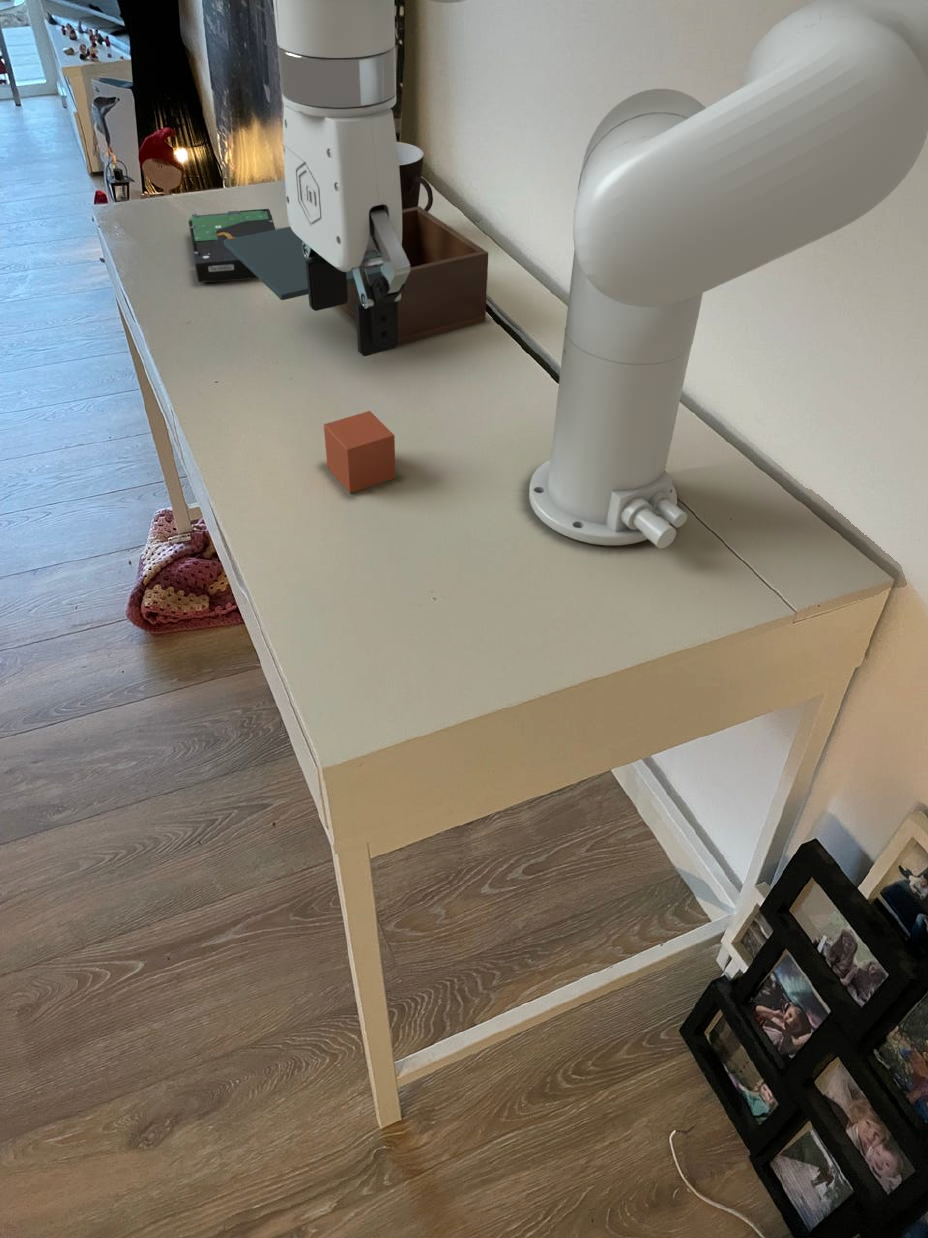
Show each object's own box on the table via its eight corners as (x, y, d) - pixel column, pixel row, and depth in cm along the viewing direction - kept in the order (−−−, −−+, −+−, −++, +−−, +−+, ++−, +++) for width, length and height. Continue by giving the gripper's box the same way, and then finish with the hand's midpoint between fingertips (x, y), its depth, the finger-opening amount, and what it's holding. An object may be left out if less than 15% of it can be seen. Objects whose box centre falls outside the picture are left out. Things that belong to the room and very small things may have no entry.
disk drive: (287, 278, 111) (271, 228, 121) (285, 255, 109) (269, 205, 119) (198, 286, 109) (189, 234, 119) (194, 263, 107) (185, 212, 117)
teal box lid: (397, 273, 95) (396, 242, 93) (281, 300, 90) (278, 268, 88) (332, 223, 104) (330, 194, 101) (224, 245, 98) (219, 215, 96)
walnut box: (485, 321, 105) (488, 252, 99) (386, 348, 100) (383, 277, 94) (419, 272, 113) (419, 205, 108) (325, 294, 108) (319, 226, 103)
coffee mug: (349, 225, 123) (345, 143, 116) (413, 219, 125) (413, 139, 118) (370, 262, 115) (367, 177, 108) (438, 255, 117) (439, 171, 110)
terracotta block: (396, 478, 83) (394, 435, 80) (350, 493, 81) (347, 449, 78) (371, 453, 86) (369, 410, 82) (327, 467, 84) (323, 424, 81)
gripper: (233, 50, 65) (263, 294, 77) (347, 122, 55) (362, 390, 67) (330, 39, 68) (345, 275, 80) (457, 104, 58) (451, 364, 70)
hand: (352, 326), depth 74 cm, fingers open, 7 cm apart
